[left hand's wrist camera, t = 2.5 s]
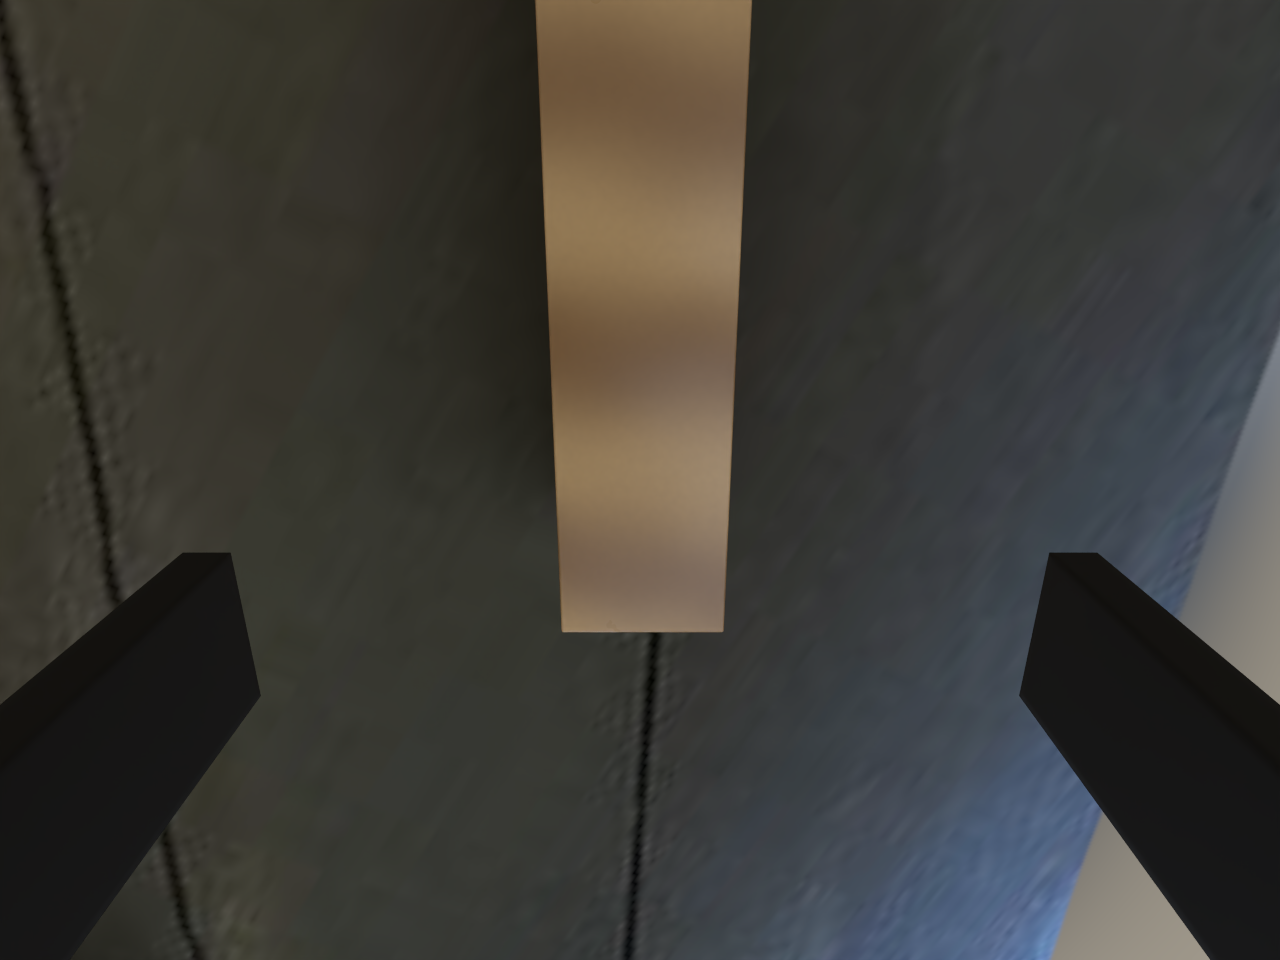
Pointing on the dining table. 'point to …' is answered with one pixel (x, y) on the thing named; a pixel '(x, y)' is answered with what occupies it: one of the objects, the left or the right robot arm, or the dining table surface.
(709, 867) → the dining table surface
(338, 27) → the dining table surface
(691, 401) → the beam
